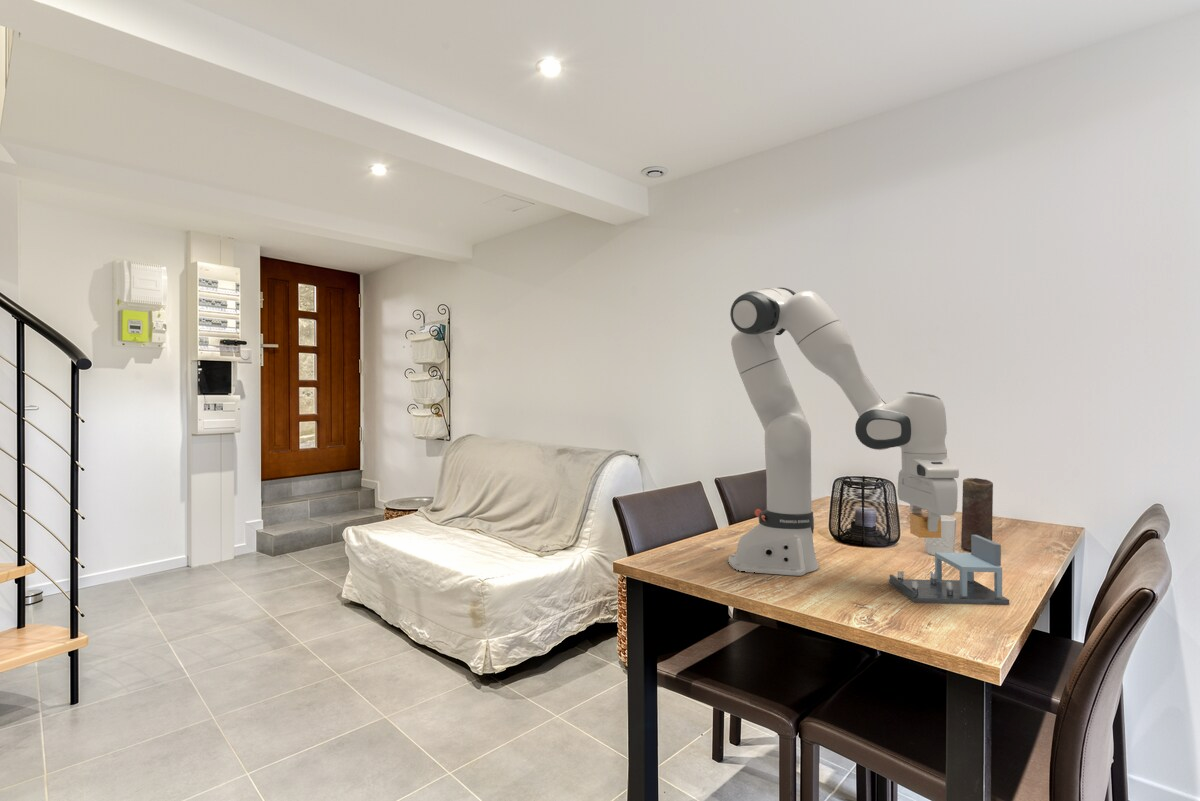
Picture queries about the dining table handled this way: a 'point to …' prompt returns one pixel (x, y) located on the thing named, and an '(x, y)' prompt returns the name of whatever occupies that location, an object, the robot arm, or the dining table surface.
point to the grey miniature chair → (974, 563)
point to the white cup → (943, 537)
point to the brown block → (923, 526)
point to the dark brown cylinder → (976, 510)
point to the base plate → (944, 591)
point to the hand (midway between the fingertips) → (925, 528)
